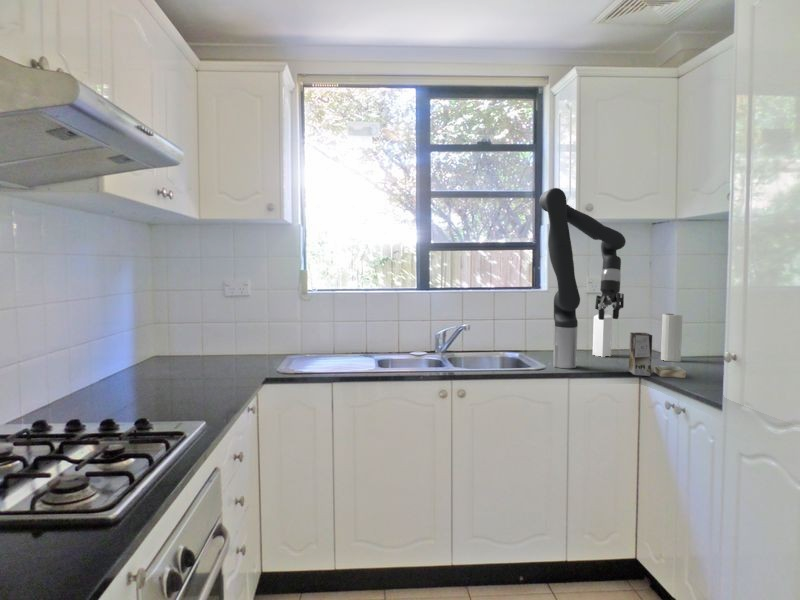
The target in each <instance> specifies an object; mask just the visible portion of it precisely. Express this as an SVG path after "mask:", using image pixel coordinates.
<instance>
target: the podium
mask: <svg viewBox="0 0 800 600" xmlns="http://www.w3.org/2000/svg"><path fill="white" fill-rule="evenodd" d="M653 372H654V373H655V374H656V375H658V376H659V377H662V378H663V377H664V378H682V379H683V378H684V379H685V378H686V375H687V371H686V370H685V369H683V368H681V367H679V366H672V365H654V367H653Z"/></svg>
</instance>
